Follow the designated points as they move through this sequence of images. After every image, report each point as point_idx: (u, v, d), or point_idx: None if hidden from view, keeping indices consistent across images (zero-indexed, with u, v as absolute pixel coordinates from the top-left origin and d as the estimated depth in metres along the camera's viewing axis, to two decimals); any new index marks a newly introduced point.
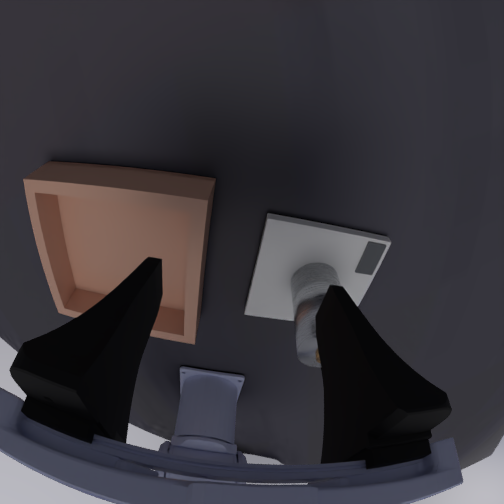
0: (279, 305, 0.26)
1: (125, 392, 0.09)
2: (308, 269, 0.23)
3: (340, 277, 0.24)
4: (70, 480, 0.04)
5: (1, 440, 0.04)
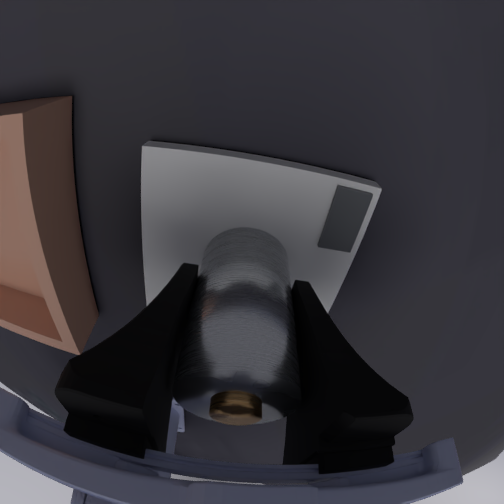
0: None
1: (168, 402, 0.09)
2: (224, 238, 0.13)
3: (291, 256, 0.14)
4: (70, 480, 0.04)
5: (1, 440, 0.04)
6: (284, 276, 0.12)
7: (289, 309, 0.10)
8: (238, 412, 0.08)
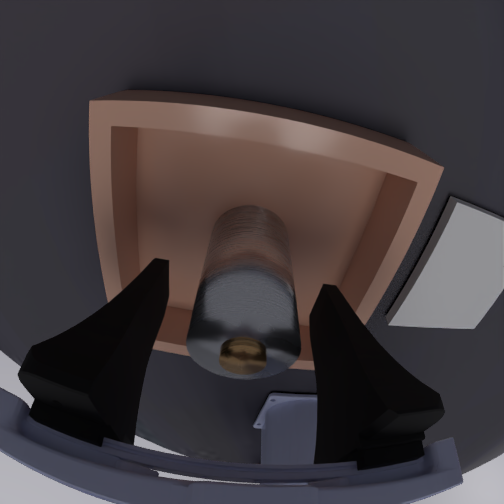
0: (428, 311, 0.19)
1: (133, 394, 0.09)
2: (231, 214, 0.14)
3: (491, 274, 0.17)
4: (70, 480, 0.04)
5: (1, 440, 0.04)
6: (285, 245, 0.13)
7: (289, 271, 0.12)
8: (245, 357, 0.09)
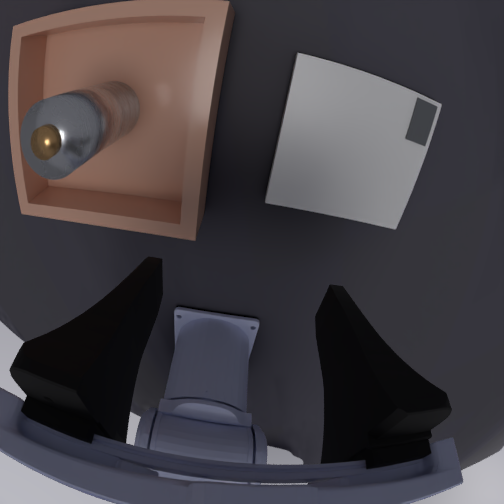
0: (312, 187, 0.19)
1: (125, 392, 0.09)
2: None
3: (388, 146, 0.17)
4: (70, 480, 0.04)
5: (1, 440, 0.04)
6: (118, 93, 0.14)
7: (105, 99, 0.12)
8: (43, 135, 0.10)
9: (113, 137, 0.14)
